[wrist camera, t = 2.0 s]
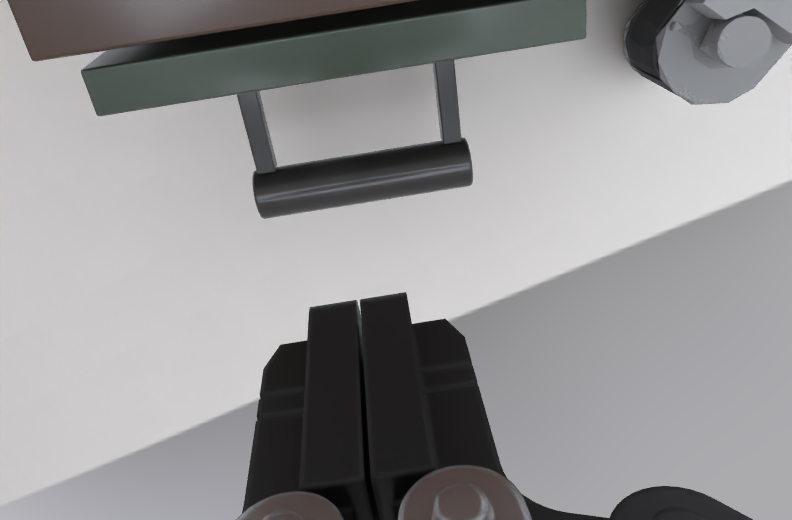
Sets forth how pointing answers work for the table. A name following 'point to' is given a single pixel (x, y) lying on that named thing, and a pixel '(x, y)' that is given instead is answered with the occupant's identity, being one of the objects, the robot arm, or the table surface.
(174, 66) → the drawer
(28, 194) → the table surface
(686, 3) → the camera
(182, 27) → the cabinet
